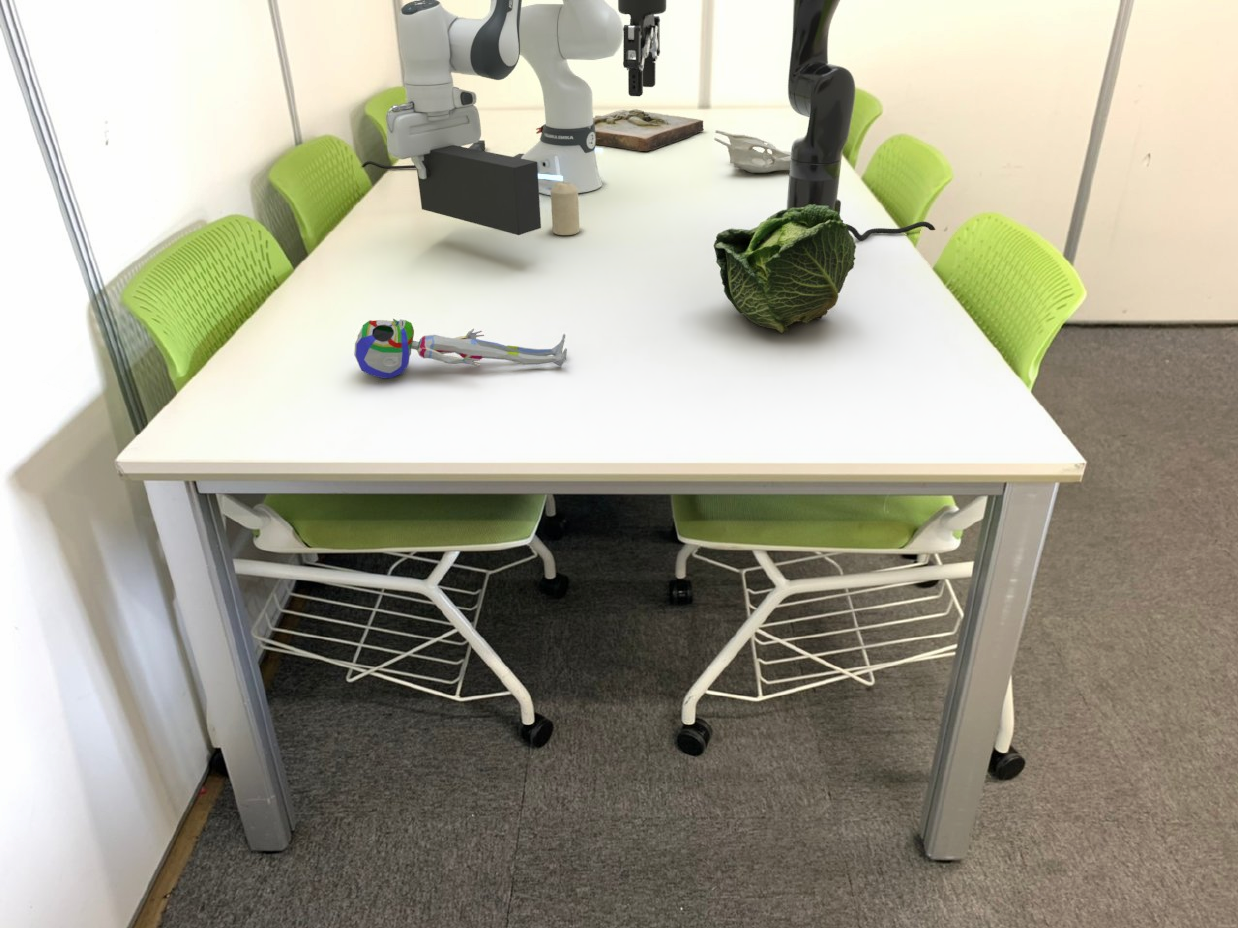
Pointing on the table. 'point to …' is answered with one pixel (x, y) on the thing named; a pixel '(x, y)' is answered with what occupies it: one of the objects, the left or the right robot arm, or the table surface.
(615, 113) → the plaque
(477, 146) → the pillar
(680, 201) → the table surface
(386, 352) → the toy
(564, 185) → the candle
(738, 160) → the anatomical model
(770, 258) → the vegetable
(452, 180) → the box
